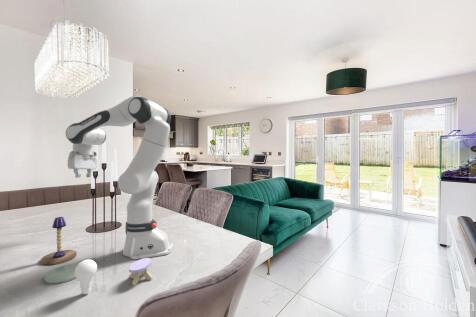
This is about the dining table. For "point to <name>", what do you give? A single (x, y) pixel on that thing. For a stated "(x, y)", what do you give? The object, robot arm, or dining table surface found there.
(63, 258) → the walnut coaster
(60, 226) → the toy lamp
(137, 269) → the toy table
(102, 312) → the dining table surface
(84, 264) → the lightbulb
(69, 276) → the sage coaster
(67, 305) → the dining table surface
